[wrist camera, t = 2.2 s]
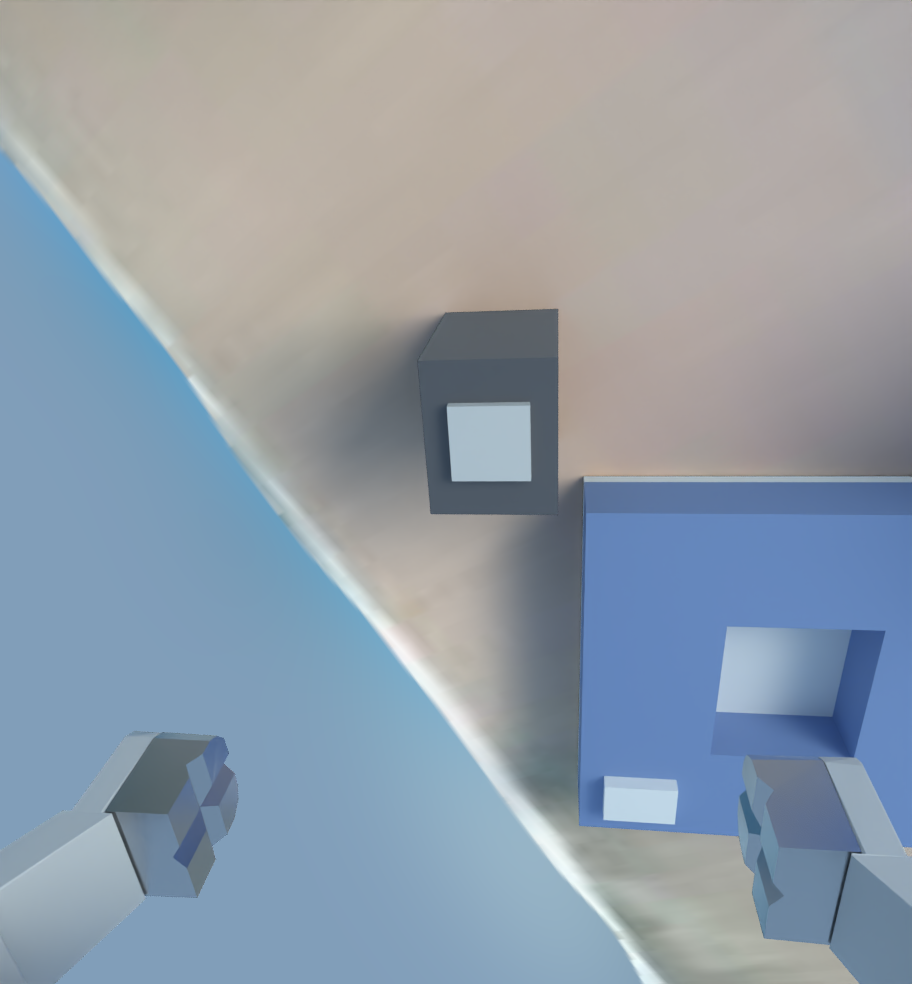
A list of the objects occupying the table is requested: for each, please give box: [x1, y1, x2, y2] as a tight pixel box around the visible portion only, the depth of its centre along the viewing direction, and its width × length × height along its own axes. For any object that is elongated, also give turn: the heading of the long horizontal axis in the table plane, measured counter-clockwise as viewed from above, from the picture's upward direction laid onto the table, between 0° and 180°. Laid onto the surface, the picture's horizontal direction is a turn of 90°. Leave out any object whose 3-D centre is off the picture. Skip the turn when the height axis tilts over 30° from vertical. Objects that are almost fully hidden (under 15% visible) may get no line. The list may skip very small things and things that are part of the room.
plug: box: [418, 309, 558, 515], centre depth 24 cm, size 5×4×6 cm
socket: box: [578, 476, 912, 847], centre depth 29 cm, size 16×16×4 cm
